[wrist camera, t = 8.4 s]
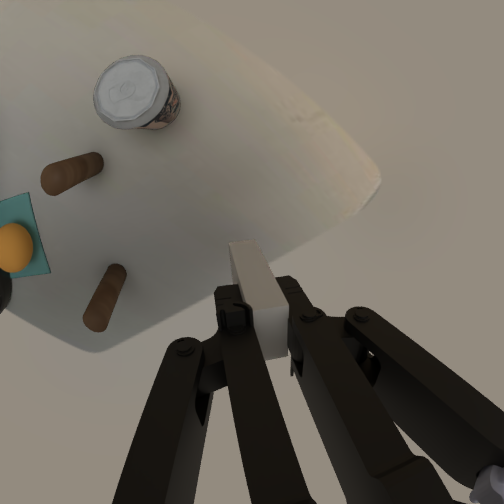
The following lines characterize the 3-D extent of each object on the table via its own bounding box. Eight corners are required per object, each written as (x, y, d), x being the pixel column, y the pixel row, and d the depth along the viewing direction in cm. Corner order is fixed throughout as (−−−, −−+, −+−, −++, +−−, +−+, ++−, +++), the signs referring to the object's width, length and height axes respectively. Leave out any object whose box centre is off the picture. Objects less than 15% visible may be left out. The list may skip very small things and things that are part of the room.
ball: (27, 277, 22) (45, 255, 27) (11, 227, 20) (32, 212, 25) (-6, 284, 21) (13, 263, 26) (-22, 238, 19) (0, 222, 24)
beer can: (186, 120, 25) (176, 112, 14) (139, 136, 24) (99, 142, 14) (174, 76, 23) (157, 39, 12) (127, 92, 22) (81, 70, 12)
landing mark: (-1, 279, 27) (-2, 280, 26) (-23, 209, 22) (-23, 209, 22) (50, 272, 28) (50, 273, 28) (28, 192, 24) (28, 192, 24)
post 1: (84, 177, 25) (43, 198, 17) (81, 154, 24) (38, 167, 16) (105, 172, 25) (68, 192, 17) (101, 149, 24) (63, 160, 16)
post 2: (110, 283, 30) (88, 332, 22) (104, 265, 29) (78, 311, 21) (128, 281, 30) (110, 331, 22) (123, 262, 29) (102, 309, 21)
